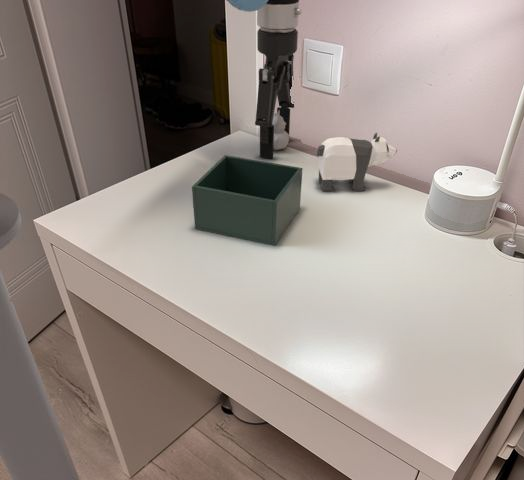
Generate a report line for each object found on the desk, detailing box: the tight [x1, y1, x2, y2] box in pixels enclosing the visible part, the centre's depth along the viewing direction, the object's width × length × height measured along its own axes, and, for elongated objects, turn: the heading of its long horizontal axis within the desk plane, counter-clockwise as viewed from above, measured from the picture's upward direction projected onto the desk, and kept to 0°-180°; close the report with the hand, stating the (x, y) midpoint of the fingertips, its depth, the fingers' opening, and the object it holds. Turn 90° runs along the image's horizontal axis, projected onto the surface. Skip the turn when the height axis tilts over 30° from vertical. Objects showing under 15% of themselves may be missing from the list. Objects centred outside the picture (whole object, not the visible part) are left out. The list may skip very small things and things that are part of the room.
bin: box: [191, 154, 304, 246], centre depth 89 cm, size 14×13×8 cm
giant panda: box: [316, 132, 398, 192], centre depth 99 cm, size 15×6×10 cm, turn 95°
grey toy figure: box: [272, 111, 290, 151], centre depth 111 cm, size 5×7×8 cm
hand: (274, 148), depth 114 cm, fingers open, 10 cm apart
